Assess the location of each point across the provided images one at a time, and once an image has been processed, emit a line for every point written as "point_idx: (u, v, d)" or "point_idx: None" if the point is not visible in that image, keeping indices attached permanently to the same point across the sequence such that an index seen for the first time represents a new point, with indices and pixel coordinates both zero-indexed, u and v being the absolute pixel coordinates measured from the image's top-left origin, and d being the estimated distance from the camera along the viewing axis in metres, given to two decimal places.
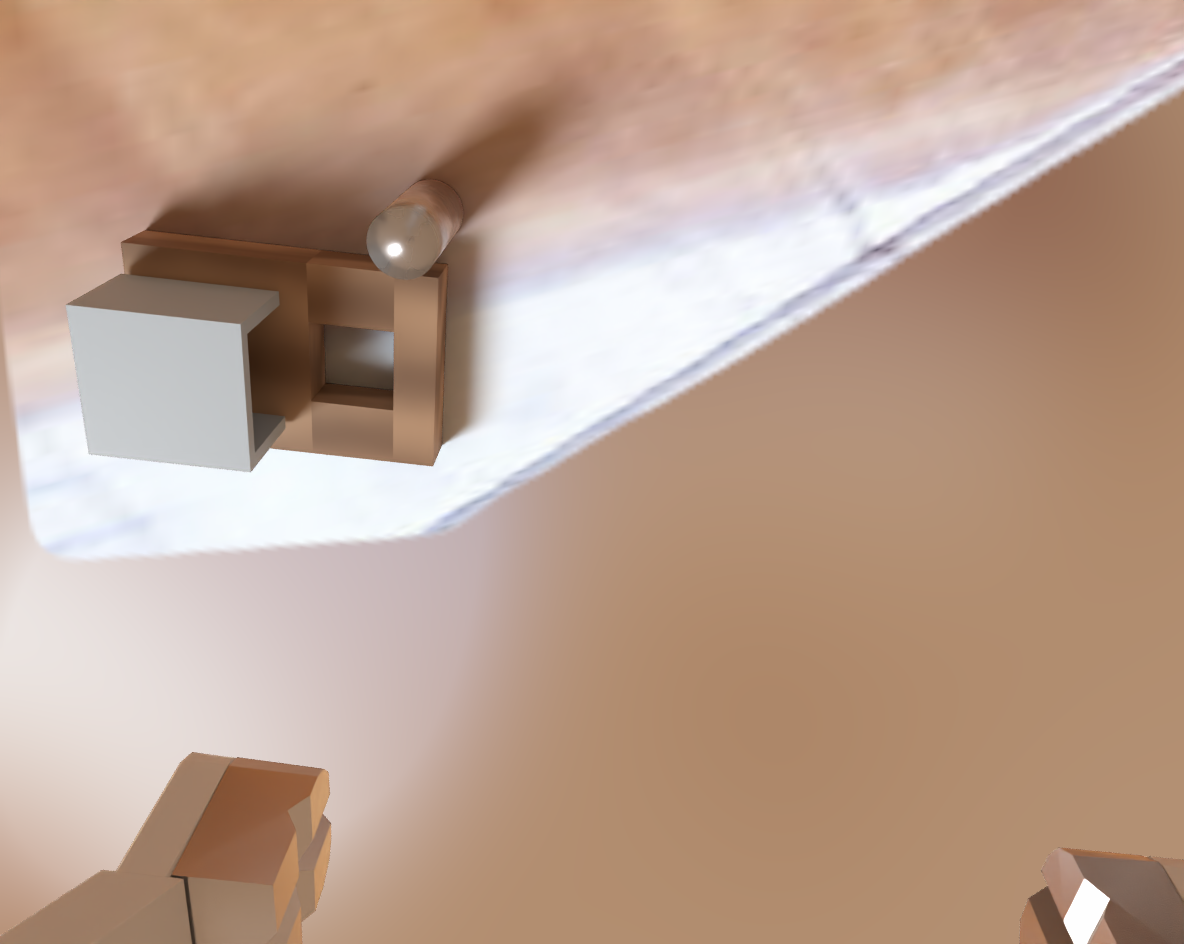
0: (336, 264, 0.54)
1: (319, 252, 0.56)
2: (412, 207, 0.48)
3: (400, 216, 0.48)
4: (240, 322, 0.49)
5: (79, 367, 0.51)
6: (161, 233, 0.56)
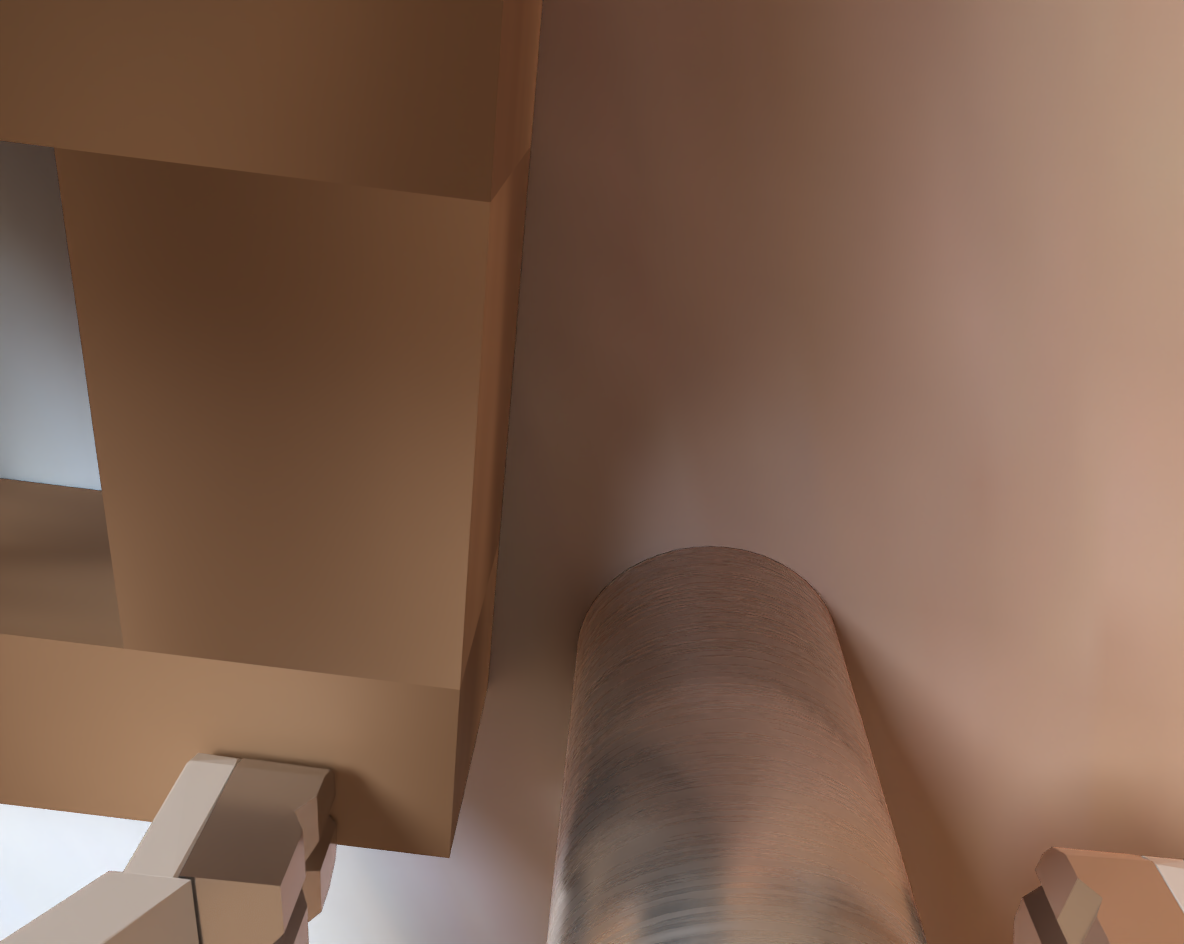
0: (486, 366, 0.09)
1: (524, 156, 0.10)
2: None
3: None
4: None
5: None
6: None
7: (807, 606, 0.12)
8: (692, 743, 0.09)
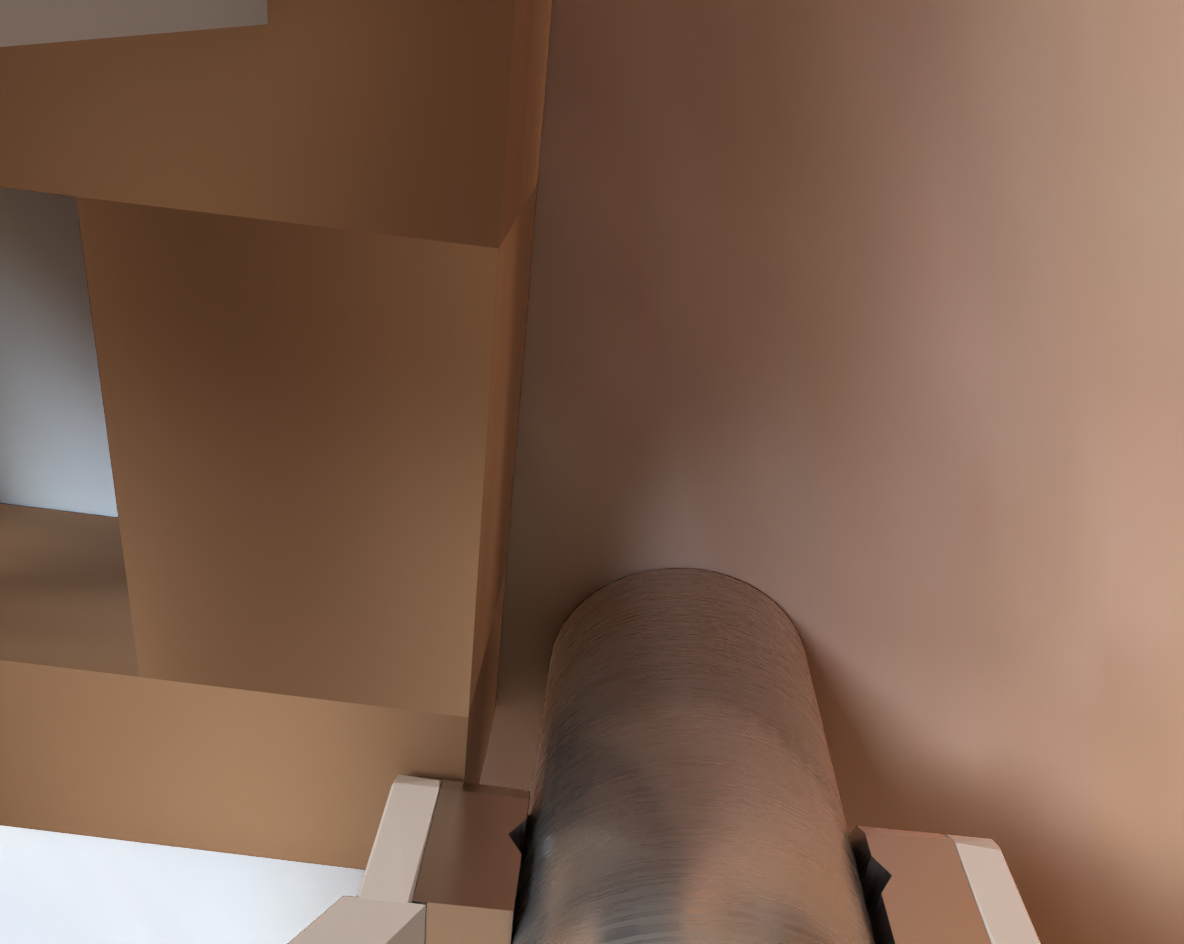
0: (494, 404, 0.09)
1: (531, 195, 0.10)
2: None
3: None
4: None
5: None
6: None
7: (772, 626, 0.12)
8: (648, 766, 0.09)
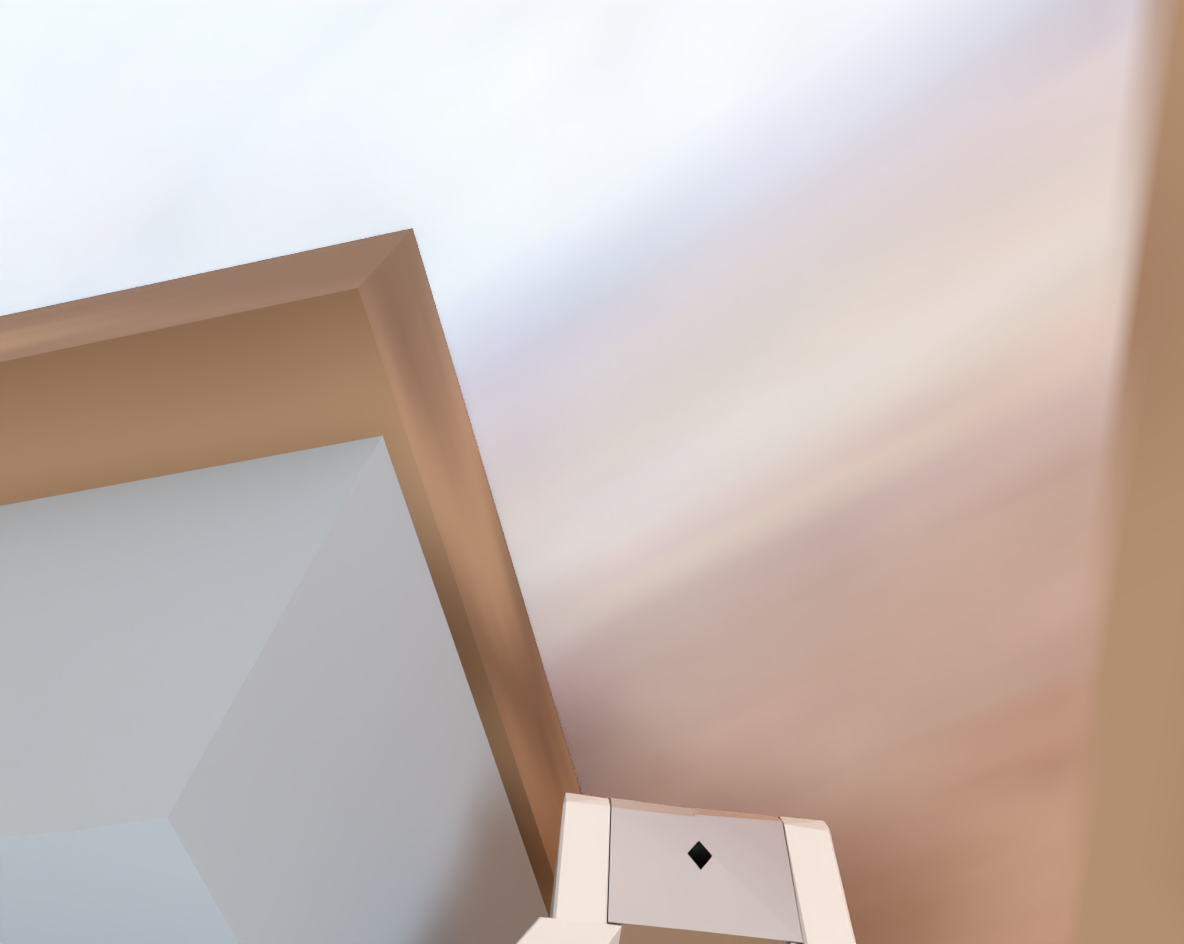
0: None
1: None
2: None
3: None
4: None
5: None
6: None
7: None
8: None
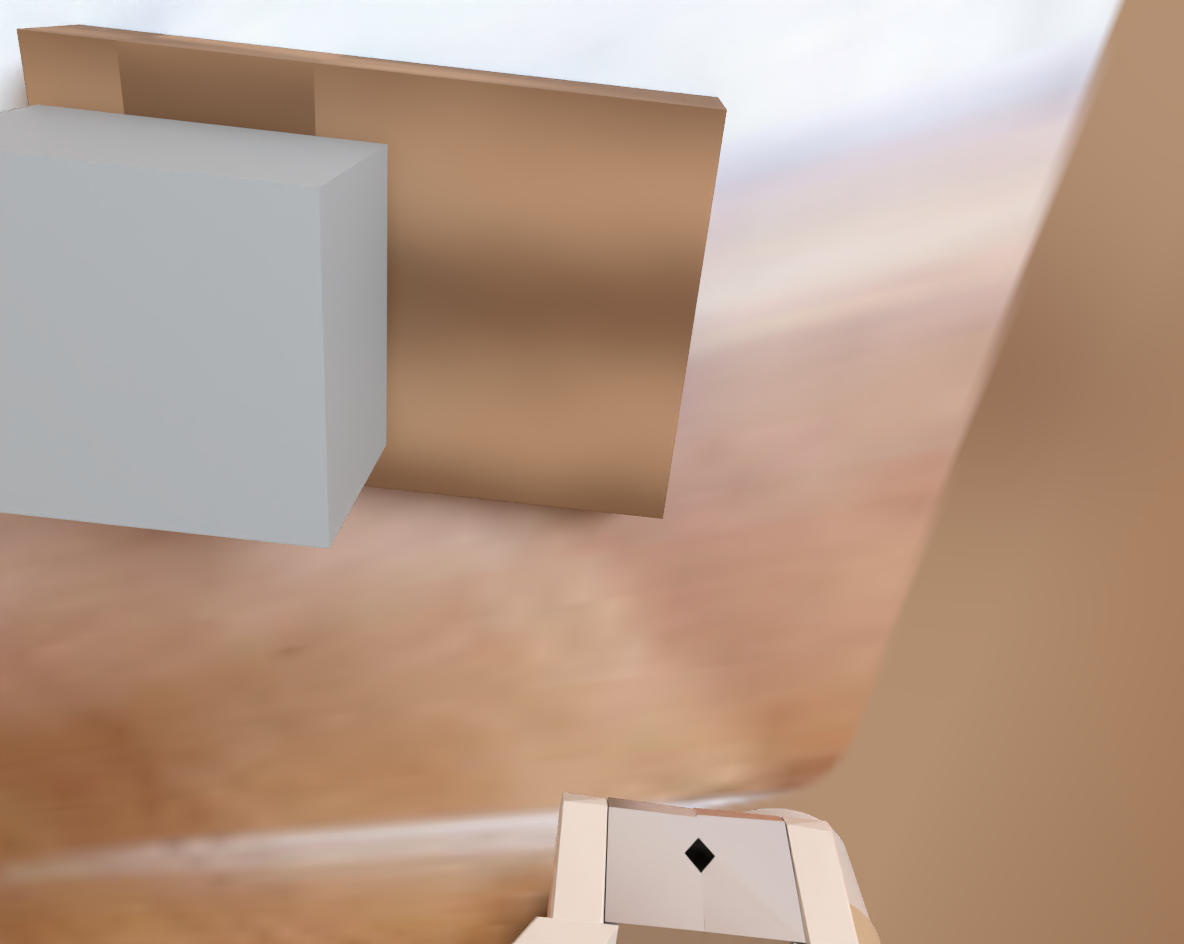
0: None
1: None
2: None
3: None
4: None
5: (316, 418, 0.22)
6: None
7: None
8: None
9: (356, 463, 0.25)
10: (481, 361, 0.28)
